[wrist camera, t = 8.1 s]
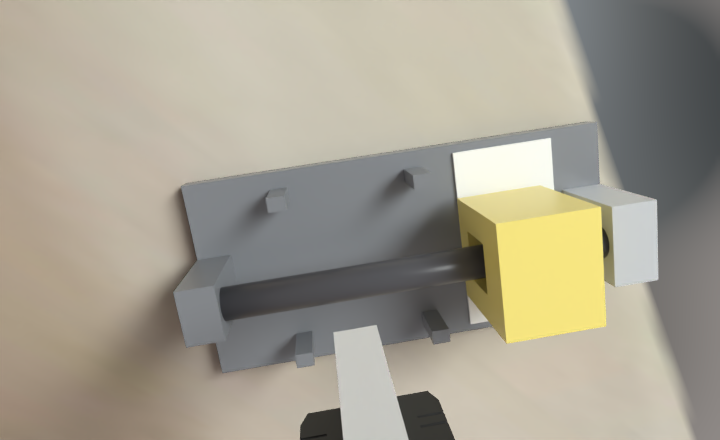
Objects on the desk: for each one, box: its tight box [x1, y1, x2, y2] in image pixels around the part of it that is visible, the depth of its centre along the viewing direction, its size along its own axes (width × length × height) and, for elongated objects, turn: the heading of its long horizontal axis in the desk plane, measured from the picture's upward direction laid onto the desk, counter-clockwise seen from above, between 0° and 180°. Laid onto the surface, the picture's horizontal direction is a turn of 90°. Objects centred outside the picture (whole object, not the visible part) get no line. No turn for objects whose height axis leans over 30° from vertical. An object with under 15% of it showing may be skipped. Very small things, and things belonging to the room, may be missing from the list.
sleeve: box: [457, 185, 606, 344], centre depth 28 cm, size 6×5×7 cm
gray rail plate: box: [173, 122, 658, 373], centre depth 31 cm, size 12×25×7 cm, turn 98°
